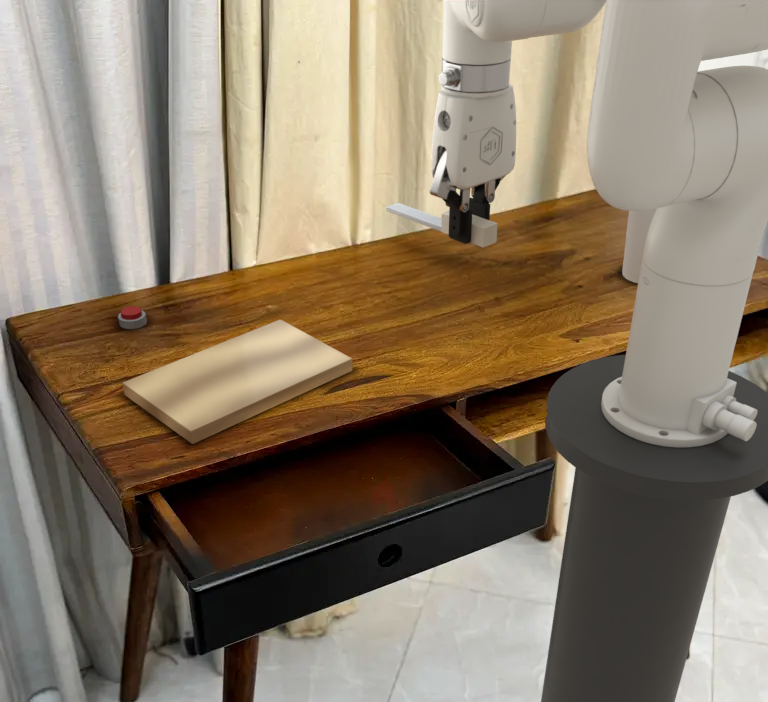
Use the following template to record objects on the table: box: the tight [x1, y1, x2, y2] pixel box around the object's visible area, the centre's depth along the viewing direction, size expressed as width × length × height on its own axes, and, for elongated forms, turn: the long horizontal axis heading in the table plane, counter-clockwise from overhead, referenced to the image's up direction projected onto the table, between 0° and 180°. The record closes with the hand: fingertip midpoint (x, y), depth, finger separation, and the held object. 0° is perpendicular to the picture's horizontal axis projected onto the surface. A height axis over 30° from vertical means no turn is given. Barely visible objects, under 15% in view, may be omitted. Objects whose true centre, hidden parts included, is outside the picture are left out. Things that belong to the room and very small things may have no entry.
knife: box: [385, 202, 499, 248], centre depth 122 cm, size 17×2×2 cm, turn 43°
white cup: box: [621, 208, 657, 284], centre depth 118 cm, size 7×7×10 cm
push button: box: [117, 305, 148, 330], centre depth 111 cm, size 3×3×2 cm
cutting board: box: [122, 319, 353, 445], centre depth 100 cm, size 12×20×2 cm, turn 133°
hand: (468, 235), depth 119 cm, fingers closed on knife, 2 cm apart
